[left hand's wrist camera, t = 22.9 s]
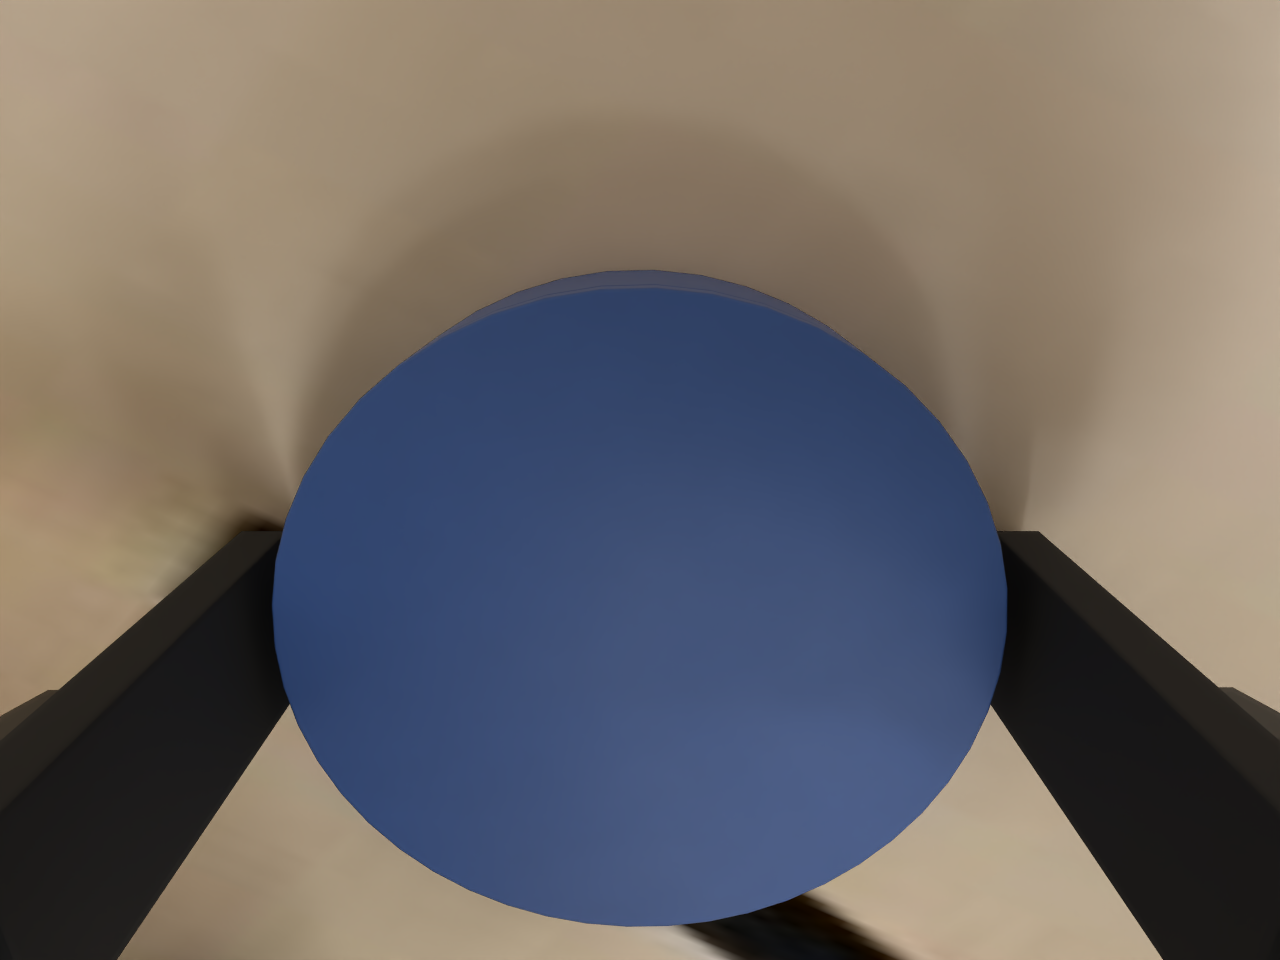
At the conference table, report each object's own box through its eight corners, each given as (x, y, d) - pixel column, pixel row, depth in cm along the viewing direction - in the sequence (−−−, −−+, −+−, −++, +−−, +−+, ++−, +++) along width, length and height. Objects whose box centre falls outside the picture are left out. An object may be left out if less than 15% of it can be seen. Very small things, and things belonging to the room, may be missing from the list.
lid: (812, 878, 16) (838, 985, 14) (287, 750, 15) (227, 844, 13) (1063, 388, 12) (1151, 430, 10) (395, 172, 11) (337, 169, 9)
